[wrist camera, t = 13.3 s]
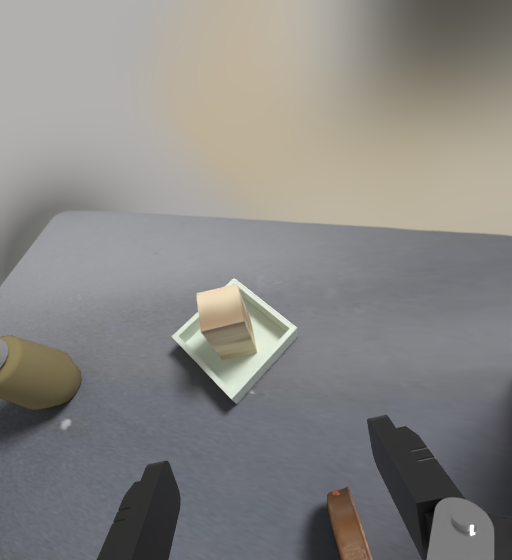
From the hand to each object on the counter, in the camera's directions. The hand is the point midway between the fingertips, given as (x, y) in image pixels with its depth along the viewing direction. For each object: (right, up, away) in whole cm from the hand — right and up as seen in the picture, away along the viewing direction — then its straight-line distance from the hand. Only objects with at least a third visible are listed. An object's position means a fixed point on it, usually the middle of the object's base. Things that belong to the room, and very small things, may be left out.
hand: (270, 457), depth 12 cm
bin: (-3, -2, +34) cm, 34 cm away
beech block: (-3, -2, +33) cm, 33 cm away
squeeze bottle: (-29, -9, +34) cm, 46 cm away
